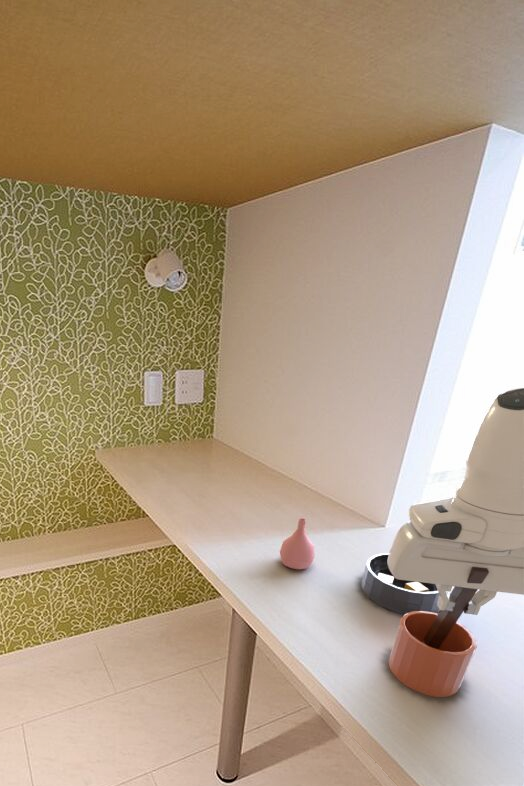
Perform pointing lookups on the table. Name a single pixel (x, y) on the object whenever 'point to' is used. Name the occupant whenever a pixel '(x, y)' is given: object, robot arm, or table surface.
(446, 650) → the holder
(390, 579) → the maple block
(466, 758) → the table surface
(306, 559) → the pink teardrop shaped piece
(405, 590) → the bowl
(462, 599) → the stirring stick
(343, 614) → the table surface
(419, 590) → the mustard block
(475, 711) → the table surface
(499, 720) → the table surface
